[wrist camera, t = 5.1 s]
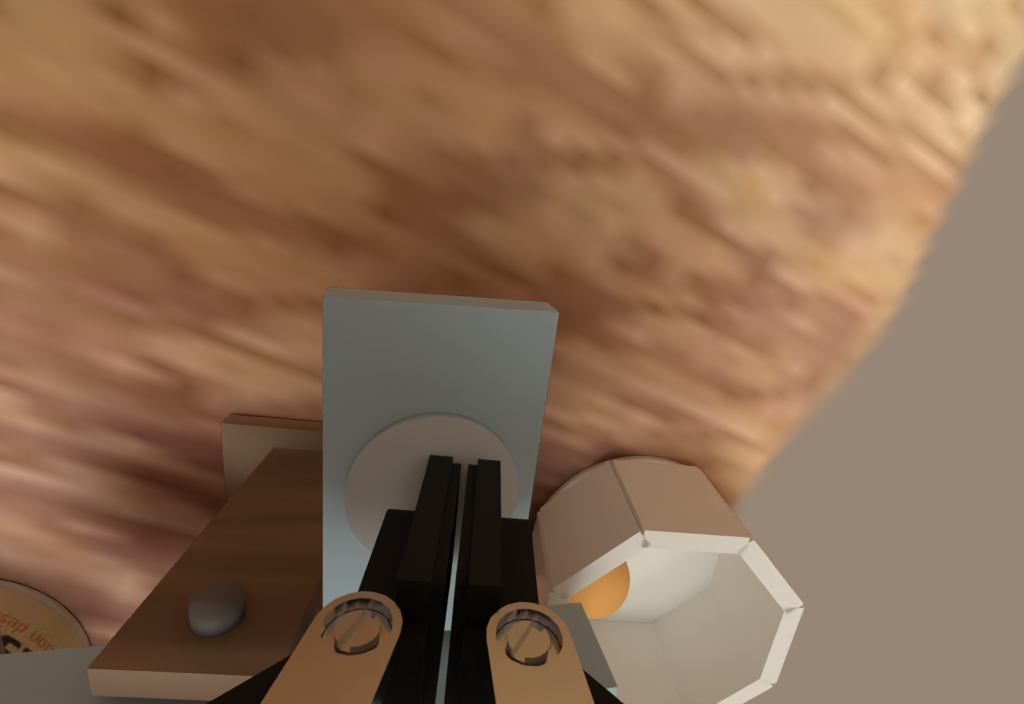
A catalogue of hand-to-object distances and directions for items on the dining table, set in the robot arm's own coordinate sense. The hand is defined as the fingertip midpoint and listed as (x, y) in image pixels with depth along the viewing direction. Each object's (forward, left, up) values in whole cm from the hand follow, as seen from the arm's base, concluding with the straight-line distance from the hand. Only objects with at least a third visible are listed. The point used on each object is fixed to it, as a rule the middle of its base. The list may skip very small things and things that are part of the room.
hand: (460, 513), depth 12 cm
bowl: (+8, +8, -9) cm, 14 cm away
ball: (+8, +6, -7) cm, 12 cm away
